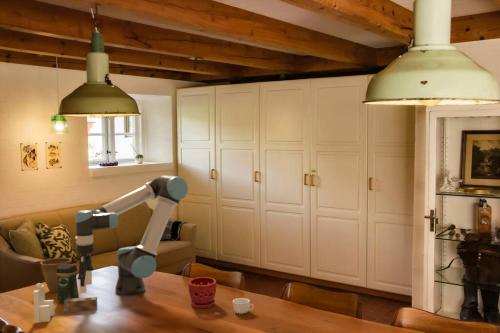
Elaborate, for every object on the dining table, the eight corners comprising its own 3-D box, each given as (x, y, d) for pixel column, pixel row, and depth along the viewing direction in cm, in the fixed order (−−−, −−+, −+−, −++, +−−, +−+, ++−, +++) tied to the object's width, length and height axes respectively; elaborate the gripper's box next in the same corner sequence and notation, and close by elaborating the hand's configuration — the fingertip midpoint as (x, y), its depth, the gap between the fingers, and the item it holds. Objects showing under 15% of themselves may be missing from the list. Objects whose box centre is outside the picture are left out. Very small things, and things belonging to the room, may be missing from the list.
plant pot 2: (183, 306, 240) (182, 281, 239) (204, 299, 250) (203, 275, 249) (201, 312, 231) (201, 286, 230) (222, 304, 241) (221, 280, 240)
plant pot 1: (77, 288, 271) (76, 259, 270) (54, 296, 259) (52, 265, 257) (60, 284, 279) (58, 256, 278) (36, 292, 267) (34, 262, 265)
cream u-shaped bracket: (54, 314, 233) (53, 279, 232) (49, 322, 223) (47, 285, 222) (40, 315, 232) (38, 280, 231) (34, 323, 222) (32, 286, 221)
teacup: (230, 314, 228) (230, 302, 228) (236, 308, 235) (236, 297, 235) (251, 316, 224) (250, 304, 224) (256, 310, 232) (256, 299, 231)
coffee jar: (81, 298, 254) (79, 262, 253) (72, 304, 246) (71, 266, 245) (64, 298, 256) (62, 261, 255) (55, 303, 248) (53, 266, 247)
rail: (97, 307, 241) (96, 296, 241) (95, 310, 237) (95, 299, 237) (66, 309, 240) (66, 298, 239) (64, 312, 235) (63, 301, 235)
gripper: (82, 238, 249) (83, 281, 250) (70, 249, 224) (71, 297, 225) (97, 238, 249) (98, 280, 251) (87, 249, 225) (89, 296, 226)
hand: (86, 288), depth 238 cm, fingers open, 13 cm apart
